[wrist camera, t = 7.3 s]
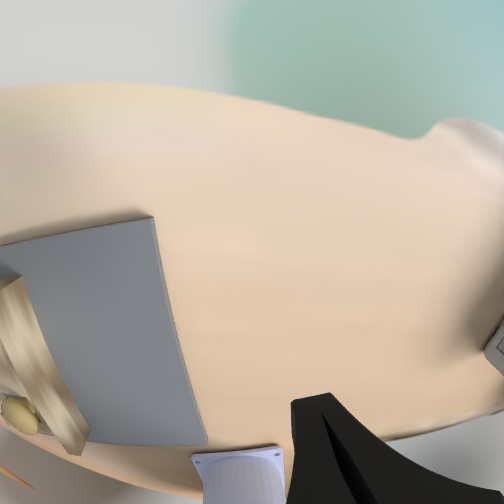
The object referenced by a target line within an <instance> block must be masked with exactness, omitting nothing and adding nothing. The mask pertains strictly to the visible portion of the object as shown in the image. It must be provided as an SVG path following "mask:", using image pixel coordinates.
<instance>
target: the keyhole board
mask: <svg viewBox="0 0 504 504" xmlns="http://www.w3.org/2000/svg"><path fill="white" fill-rule="evenodd" d="M18 276H23V280H24V283H25V286H26V290H27V293H28V296H29V299H30V302H31V305H32V308H33V311H34V314H35V316H36V319H37V322H38V324H39V327H40V330H41V332H42V335H43V337H44V340H45V342H46V344H47V347H48V349H49V351H50V354H51V356H52V358H53V360H54V363H55V365H56V367H57V369H58V371H59V373H60V375H61V377H62V379H63V381H64V383H65V385H66V387H67V389H68V391H69V393H70V395H71V397H72V398H73V400H74V402H75V404H76V406H77V407H78V409H79V411H80V413H81V414H82V416H83V418H84V419H85V421H86V423H87V424H88V426H89V427H90V429H91V430H90V433H89V436H88V438H87V441H89V442H98V443H107V444H119V445H135V446H200V445H208V437H207V434H206V431H205V428H204V425H203V422H202V419H201V416H200V413H199V410H198V406H197V403H196V400H195V397H194V393H193V390H192V387H191V383H190V380H189V376H188V373H187V369H186V366H185V362H184V358H183V355H182V351H181V347H180V343H179V339H178V335H177V331H176V327H175V323H174V319H173V315H172V310H171V306H170V301H169V297H168V292H167V288H166V283H165V278H164V273H163V268H162V263H161V257H160V252H159V247H158V241H157V235H156V229H155V223H154V217H150V218H144V219H137V220H131V221H125V222H119V223H113V224H107V225H102V226H96V227H90V228H85V229H79V230H74V231H69V232H64V233H59V234H54V235H49V236H44V237H39V238H34V239H29V240H25V241H20V242H16V243H11V244H7V245H2V246H0V279H4V278H11V277H18ZM5 396H6V397H7V398H6V400H5V401H4V402H3V404H2V405H1V410H2V413H3V415H4V416H5V418H6V419H7V420H8V421H9V423H10V424H11V425H13V426H14V427H15V428H16V429H18V430H19V431H21V432H22V433H24V434H27V435H35V433H36V432H37V430H38V428H39V421H38V419H37V418H36V416H35V415H34V413H35V411H34V409H33V408H32V406H31V405H30V403H29V401H28V400H27V398H26V397H20V396H14V395H9V394H5ZM37 433H38V432H37ZM42 434H43V433H42ZM46 435H48V434H46ZM51 436H53V435H51Z"/></svg>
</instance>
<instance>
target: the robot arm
mask: <svg viewBox="0 0 504 504" xmlns="http://www.w3.org/2000/svg"><path fill="white" fill-rule="evenodd" d="M291 426H292V438H293V444H294V451H295V456H294V464H293V471H292V478H291V483H290V488H289V493H288V497H287V501H286V497H285V493H284V491H285V483H284V466H283V450H282V447H281V446H271V447H264V448H257V449H249V450H240V451H230V452H218V453H202V454H193V455H191V460H192V462H193V465H194V467H195V469H196V471H197V473H198V475H199V477H200V479H201V481H202V483H203V504H504V496H503V495H502V494H501V492H500V491H496V490H490V489H485V488H480V487H476V486H471V485H468V484H465V483H461V482H458V481H455V480H452V479H449V478H447V477H445V476H442V475H440V474H437V473H435V472H433V471H430V470H428V469H426V468H424V467H422V466H420V465H418V464H416V463H415V462H413V461H411V460H410V459H408V458H406V457H404V456H403V455H401V454H400V453H398V452H397V451H395V450H394V449H392V448H391V447H390V446H388V445H387V444H386V443H384V442H383V441H382V440H380V439H379V438H378V437H376V436H375V435H374V434H373V433H372V432H370V431H369V430H368V429H367V428H366V427H365V426H364V425H362V424H361V423H360V422H359V421H358V420H357V419H356V418H355V417H354V416H353V415H352V414H351V413H350V412H349V411H348V410H347V409H346V408H345V407H344V406H343V405H342V404H341V403H340V402H339V401H338V400H337V399H336V398H335V397H334V395H333V394H331V393H330V392H329V393H325V394H320V395H316V396H311V397H306V398H301V399H295V400H293V401H292V402H291Z"/></svg>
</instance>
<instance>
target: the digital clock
mask: <svg viewBox="0 0 504 504" xmlns="http://www.w3.org/2000/svg"><path fill="white" fill-rule="evenodd" d="M499 325H500V327H499V329H498V330H497V331H496V333H495V334H494V336H493V337H492V339H491V340H490V341H489V343H488V344H487V346H486V348H485V350H484V355H485V357H486V359H487V360H488V361H489V362H490V363H491V364H492V365H493V366H494V367H495V368H496V369H497V370H498V371H499V372H501V373H502V374H503V375H504V318H503V320H502V321H501V323H500V324H499Z"/></svg>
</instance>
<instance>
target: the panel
mask: <svg viewBox="0 0 504 504" xmlns="http://www.w3.org/2000/svg"><path fill="white" fill-rule="evenodd" d="M0 393H4V394H9V395H14V396H20V397H26V398H27V400H28V401H29V403H30V405H31V406H32V408H33V409H34V411H35V413H34V415H35V416H36V418H37V419H38V421H39V428H38V430H37V432H38V433H43V434H48V435H53V436H56V437H57V439H58V440H59V442H60V443H61V444H62V446H63V447H64V448H65V450H66V451H67V452H68V454H71V455H77V456H81V454H82V451H83V449H84V446H85V443H86V441H87V438H88V436H89V433H90V430H91V429H90V427H89V426H88V424H87V423H86V421H85V419H84V418H83V416H82V414H81V413H80V411H79V409H78V407H77V406H76V404H75V402H74V400H73V398H72V397H71V395H70V393H69V391H68V389H67V387H66V385H65V383H64V381H63V379H62V377H61V375H60V373H59V371H58V369H57V367H56V365H55V363H54V360H53V358H52V356H51V354H50V351H49V349H48V347H47V344H46V342H45V340H44V337H43V335H42V332H41V330H40V327H39V324H38V322H37V319H36V316H35V314H34V311H33V308H32V305H31V302H30V299H29V296H28V293H27V290H26V286H25V283H24V280H23V276H18V277H11V278H4V279H0ZM1 415H2V417H3V418H4V420H5V421H6V423H7V424H8V425H10V426H13V425H11V424H10V423H9V421H8V420H7V419H6V418H5V416H4V415H3V413H1Z"/></svg>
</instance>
